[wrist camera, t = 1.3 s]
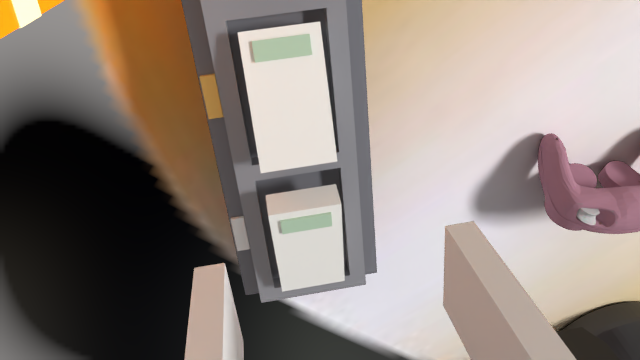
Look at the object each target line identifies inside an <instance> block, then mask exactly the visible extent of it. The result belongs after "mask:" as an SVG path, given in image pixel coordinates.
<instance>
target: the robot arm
mask: <svg viewBox="0 0 640 360" xmlns="http://www.w3.org/2000/svg"><path fill="white" fill-rule="evenodd" d="M443 306H444V308H445V310H446V312H447V313H448V315H449V317H450V319H451V321H452V323H453V325H454V327H455V329H456V331H457V333H458V335H459V337H460V339H461V341H462V343H463V344H464V346H465V348H466V350H467V352H468V354H469V356H470V358H471V360H640V302H626V303H619V304H615V305H611V306H607V307H604V308H601V309H598V310H596V311H593V312H591V313H589V314H587V315H585V316H583V317H581V318H579V319H577V320H576V321H574V322H572V323H571V324H569V325H568V326H566V327H565V328H564V329H562V330H561V331H557V332H556V331H555V330H554V329H553V327H552V326H551V325H550V323H549V322H548V321H547V319H546V318H545V317H544V315H543V314H542V313H541V311H540V310H539V309H538V307H537V306H536V304H535V303H534V302H533V300H532V299H531V298H530V296H529V295H528V294H527V292H526V291H525V290H524V288H523V287H522V286H521V284H520V283H519V282H518V280H517V279H516V278H515V276H514V275H513V274H512V272H511V271H510V270H509V268H508V267H507V266H506V264H505V263H504V261H503V260H502V259H501V257H500V256H499V255H498V253H497V252H496V251H495V249H494V248H493V247H492V245H491V244H490V243H489V241H488V240H487V239H486V237H485V236H484V235H483V233H482V232H481V231H480V229H479V228H478V227H477V225H476V224H475V223H474V221H472V222H466V223H460V224H454V225H448V226H445V257H444V296H443ZM185 360H244V355H243V338H242V334H241V330H240V325H239V321H238V317H237V313H236V309H235V305H234V300H233V296H232V292H231V288H230V283H229V279H228V275H227V270H226V266H225V263H221V264H216V265H209V266H203V267H197V268H194V276H193V285H192V294H191V304H190V313H189V322H188V332H187V341H186V351H185Z"/></svg>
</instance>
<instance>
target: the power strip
mask: <svg viewBox="0 0 640 360" xmlns="http://www.w3.org/2000/svg"><path fill="white" fill-rule="evenodd" d="M181 2H182V6H183V11H184V15H185V20H186V24H187V29H188V34H189V38H190V43H191V47H192V52H193V56H194V61H195V66H196V70H197V75H198V79H199V84H200V88H201V93H202V98H203V102H204V107H205V111H206V116H207V120H208V125H209V130H210V134H211V139H212V143H213V148H214V152H215V157H216V161H217V166H218V171H219V175H220V180H221V184H222V189H223V193H224V198H225V203H226V207H227V212H228V216H229V221H230V225H231V230H232V235H233V239H234V244H235V248H236V253H237V257H238V262H239V267H240V271H241V276H242V280H243V284H244V289H245V294H246V295H250V294H255V293H259V294H260V299H261V302H268V301H274V300H279V299H285V298H291V297H297V296H302V295H308V294H314V293H320V292H325V291H331V290H337V289H342V288H348V287H354V286H360V285H365V284H366V280H365V274H371V273H377V266H376V248H375V230H374V212H373V194H372V176H371V158H370V140H369V122H368V104H367V86H366V68H365V50H364V32H363V14H362V0H181ZM319 21H320V25H321V33H322V41H323V49H324V57H325V65H326V73H327V81H328V89H329V97H330V105H331V113H332V121H333V129H334V137H335V145H336V153H337V162H331V163H324V164H318V165H312V166H305V167H299V168H292V169H286V170H279V171H273V172H266V173H261V172H260V166H259V160H258V154H257V148H256V142H255V136H254V130H253V124H252V117H251V111H250V105H249V99H248V93H247V87H246V81H245V75H244V69H243V63H242V57H241V51H240V45H239V39H238V33H237V32H244V31H251V30H259V29H267V28H274V27H282V26H289V25H297V24H304V23H312V22H319ZM333 184H336V186H337V190H338V194H339V197H340V201H341V207H342V230H343V252H344V275H345V281H341V282H335V283H329V284H323V285H318V286H312V287H306V288H300V289H295V290H289V291H283V292H282V287H281V282H280V277H279V271H278V266H277V261H276V255H275V250H274V244H273V239H272V234H271V228H270V223H269V218H268V211H267V203H266V195H270V194H276V193H282V192H289V191H295V190H301V189H307V188H314V187H320V186H326V185H333Z"/></svg>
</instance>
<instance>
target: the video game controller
mask: <svg viewBox="0 0 640 360" xmlns="http://www.w3.org/2000/svg"><path fill="white" fill-rule="evenodd" d="M538 169H539V176H540V180H541V184H542V188H543V191H544V195H545V203H544V206H545V210H546V212H547V215H548V216H549V218H550V219H551V220H552V221H553V222H555V223H556V224H557V225H559V226H561V227H563V228H566V229H568V230H575V231H577V230H582V229H583V230H587V231H591V232H598V233H607V234H623V233H632V232H638V231H640V174H639V173H637V172H636V171H635V170H633V169H632V168H631V167H630V166H629V165H627V164H626V163H624V162H621V161H611V162H609V163H608V164H607V165H606V166H605V167H604V168H603V169H602V170H601V171H600V173H599V174H598V180H599V182H600V184H601V185H602V186H603V187H604V188H595V187H596V184H597V178H596V175H595V174H594V172H593V171H592V170H591V169H590V168H589V167H587V166H585V165H582V164H576V163H574V164H570V165H569V162H568V158H567V153H566V149H565V147H564V145H563V143H562V141H561V140H560V139H559V138H558V137H557V136H556V135H555V134H547V135H545V136H544V137H543V138H542V140H541V143H540V146H539V151H538Z"/></svg>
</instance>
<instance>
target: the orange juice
mask: <svg viewBox="0 0 640 360" xmlns="http://www.w3.org/2000/svg"><path fill="white" fill-rule="evenodd" d="M62 1H64V0H0V39H1V38H2V37H4V36H6V35H7V34H9V33H11V32H12V31H14V30H16V29H17V28H22V27H24V26H25V25H27V24H29V23H30V22H32V21H34V20H35V19H37V18H38V17H40V16H42V15H41V14H42V13H44V12H46V11H47V10H49V9H51V8H52V7H54V6H56V5H57V4H59V3H61V2H62Z"/></svg>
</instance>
